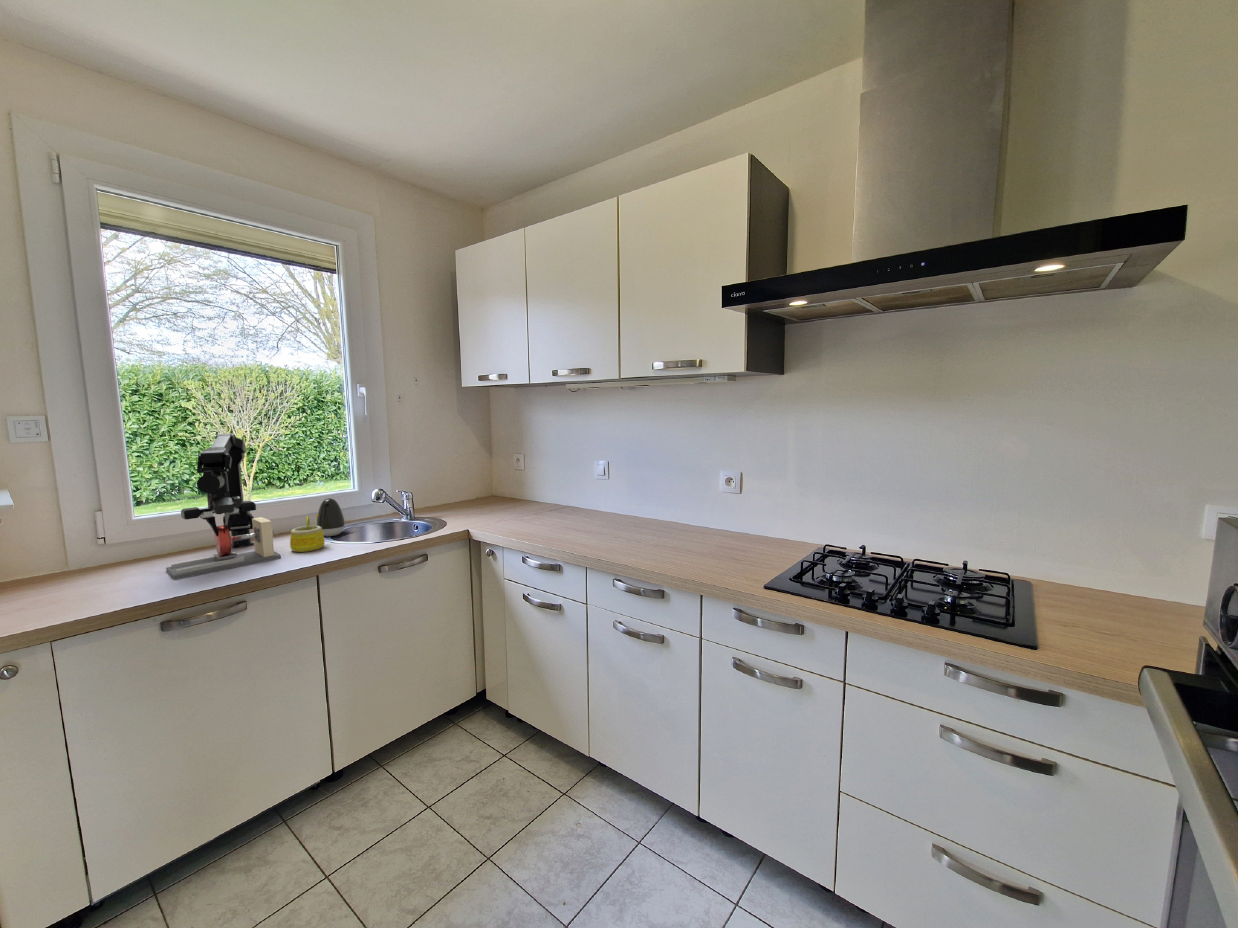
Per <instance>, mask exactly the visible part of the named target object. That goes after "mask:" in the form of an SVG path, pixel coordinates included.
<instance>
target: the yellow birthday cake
mask: <svg viewBox="0 0 1238 928" xmlns="http://www.w3.org/2000/svg"><path fill="white" fill-rule="evenodd" d="M315 516H316V517H315V521H314V524H313V525H311V522H310V521H311V520H310V516H306V525H304V526H303V525H302V526H299V527H294V528H293V529H291V531H290V539H289V540H290V541H289V545H290V546H289V547H290V550H291V551H292V552H295V553H307V552H313V551H316V550H319V549H321V548H322V547H324V546H325V536H323V531H322V527H320V526H316V522H317V517H318V516H319V515H318V513H317V514H316V515H315Z"/></svg>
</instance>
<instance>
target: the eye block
mask: <svg viewBox="0 0 1238 928" xmlns="http://www.w3.org/2000/svg"><path fill="white" fill-rule="evenodd" d="M252 523H253V529H252V532H253V533H257V534H258V537H255V538H253V541H254V542H253V543H254V550H253V551H248V552H242V553H238V552H237V551H235V552H232V553H233V554H234V555H235V558H234V559H229V560H224V561H218V562H216V561H214V556H213V555H212V556H207V557H201V558H196V559H189V560H185V561H179V562H173V563H171V564H170V566H166V568H165V569H166V572H167V573H168V575H169V576H170V577H171V578H172V579H173V580H174V581H176V580H181V579H185V578H190V577H194V576H199V575H205V574H209V573H214V572H219V571H225V570H229V569H234V568H239V567H243V566H249V565H252V564H258V563H265V562H270V561H275V560H279V559H282V557H281V554H280V553H278V552H277V551H275V548H274V547H275V546H274V534H272V530H273V525H272V520H270V519H268V518H265V517H263V516H262V517H260V516H259V517H254V518H253V519H252Z"/></svg>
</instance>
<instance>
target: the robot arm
mask: <svg viewBox="0 0 1238 928" xmlns="http://www.w3.org/2000/svg"><path fill="white" fill-rule="evenodd" d="M246 452H247V447H246V443H245V442H244V440H243V439H242V438H239V437H237V436H235V434H234V433H233V434H232V433H221V434H220V433H219V434H216V435H215V440H214V442H213V444H212V445H211V447H209V448H205V449H203V450H202V451H201V452H200V454H198V456H197V457H198V458H197V464H196V465H197V467H196V473H197V474H203V475H202V476H200V477H199V478H198V479H197V482H196V487H197V489H198V490H199V491H200V492H202V493H204V494H206V500H207V508H199V507H197V506H195V507H194V506H193V507H188V508H187V507H186V508H182V509H181V510H180V515H181V516H180V517H181V518H182V519H183V520H192V519H198V518H199V519H202V520H203V521H204V520H205V521H206V522H207V524H208V525H209V526H210V528H211V530H212V532H213V533H215V535H216V536H218V530H217V526H218V525H217V523H216V516H214V514H216V515H223V514H224V515H223V516H222V521H223V522H222V523H223V525H226V526H227V527H228V529H229V532H230V537H233V536H239V535H245V534H251V530H253V523H252V519H253V518H255V517H254V516H253V513H252V511H257V506H256V503H255V502H254V501H251V500H244V492H243V489H244V488H243V479H242V471H241V469H242V468H241V464H242V462H243V461H244V459H245V454H247V453H246ZM251 539H252V538H249V539H243V540H238V541H232V542H231V545H232V549H235V548H236V549H237V548H243V547H248V546H253V545H254V546H255V544H254V542H253V541H252V540H251Z"/></svg>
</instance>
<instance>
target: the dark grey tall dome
mask: <svg viewBox="0 0 1238 928" xmlns="http://www.w3.org/2000/svg"><path fill="white" fill-rule="evenodd" d="M317 514H318V515H319V516H318V517H317V520H316V524H315V526H320V527H322V531H323V536H324V537H334V536H338V535H340V534H341V533H342V532H343V531H344V529H345V526H346V521H345V516H344V513H343V511H342V509H341V506H340V505H339V503H338V502H337V500H336V499H334V498H331V497H329V498H325V499H323V500H322V502H321V503H320V506H319V508H318V511H317Z"/></svg>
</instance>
